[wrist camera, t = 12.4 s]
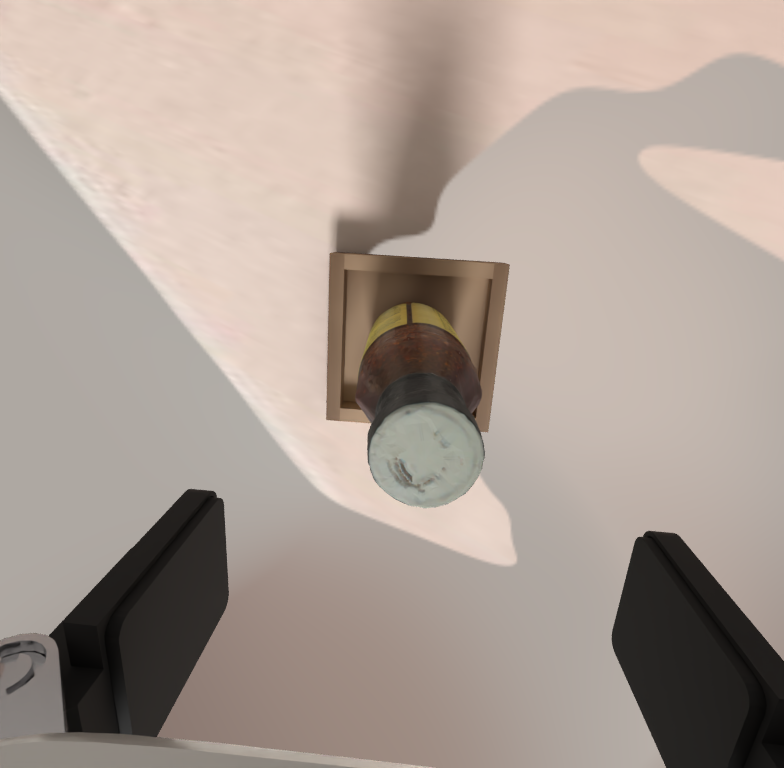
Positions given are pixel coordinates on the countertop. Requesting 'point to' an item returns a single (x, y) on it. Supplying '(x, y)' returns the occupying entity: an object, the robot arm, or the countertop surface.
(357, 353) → the tray
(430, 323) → the sauce bottle
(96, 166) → the countertop surface
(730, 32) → the countertop surface
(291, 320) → the countertop surface
